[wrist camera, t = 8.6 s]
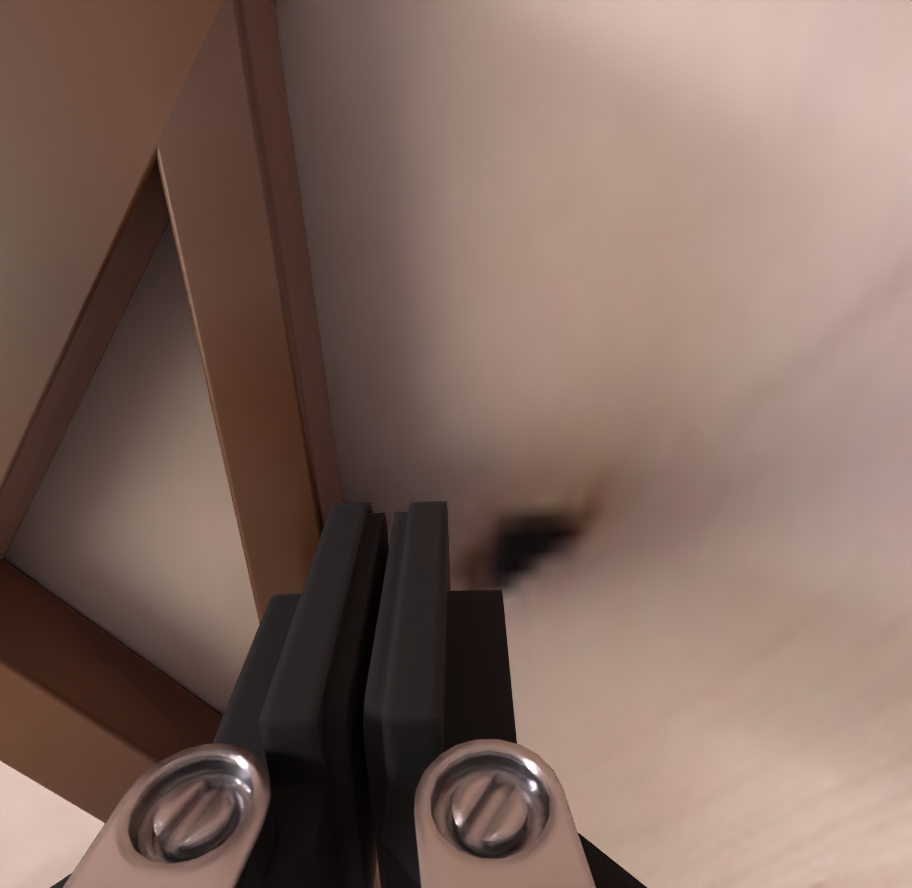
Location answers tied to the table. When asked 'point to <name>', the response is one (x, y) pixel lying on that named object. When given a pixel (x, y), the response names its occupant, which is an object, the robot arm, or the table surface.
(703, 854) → the table surface
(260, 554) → the hanger
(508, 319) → the table surface
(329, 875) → the robot arm
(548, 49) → the table surface
